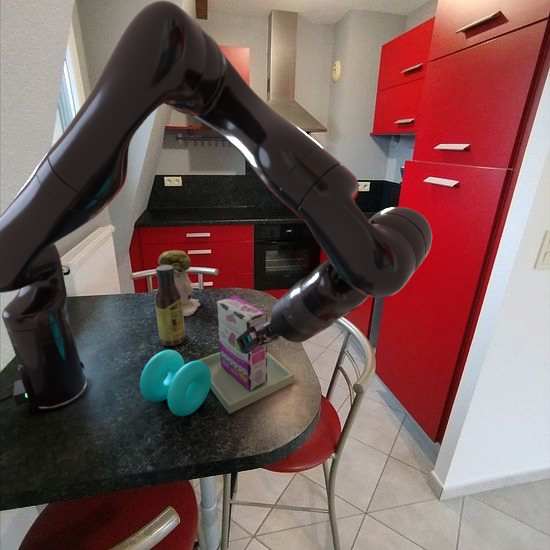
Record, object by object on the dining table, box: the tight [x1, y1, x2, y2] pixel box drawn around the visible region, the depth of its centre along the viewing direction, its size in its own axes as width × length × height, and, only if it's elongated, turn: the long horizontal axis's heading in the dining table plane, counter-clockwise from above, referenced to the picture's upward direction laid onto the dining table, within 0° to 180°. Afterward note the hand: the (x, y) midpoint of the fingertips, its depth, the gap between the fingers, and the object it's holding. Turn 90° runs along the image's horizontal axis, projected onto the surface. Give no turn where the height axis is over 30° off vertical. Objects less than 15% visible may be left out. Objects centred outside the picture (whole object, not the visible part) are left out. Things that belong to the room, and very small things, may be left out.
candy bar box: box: [216, 295, 268, 391], centre depth 67 cm, size 11×5×16 cm, turn 41°
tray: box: [196, 351, 295, 415], centre depth 70 cm, size 15×16×2 cm
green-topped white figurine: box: [157, 249, 201, 317], centre depth 95 cm, size 12×13×18 cm
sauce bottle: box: [154, 265, 186, 347], centre depth 79 cm, size 7×6×20 cm
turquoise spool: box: [139, 349, 211, 417], centre depth 61 cm, size 10×10×10 cm
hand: (264, 340), depth 59 cm, fingers open, 8 cm apart
